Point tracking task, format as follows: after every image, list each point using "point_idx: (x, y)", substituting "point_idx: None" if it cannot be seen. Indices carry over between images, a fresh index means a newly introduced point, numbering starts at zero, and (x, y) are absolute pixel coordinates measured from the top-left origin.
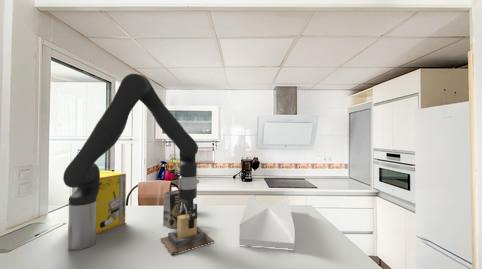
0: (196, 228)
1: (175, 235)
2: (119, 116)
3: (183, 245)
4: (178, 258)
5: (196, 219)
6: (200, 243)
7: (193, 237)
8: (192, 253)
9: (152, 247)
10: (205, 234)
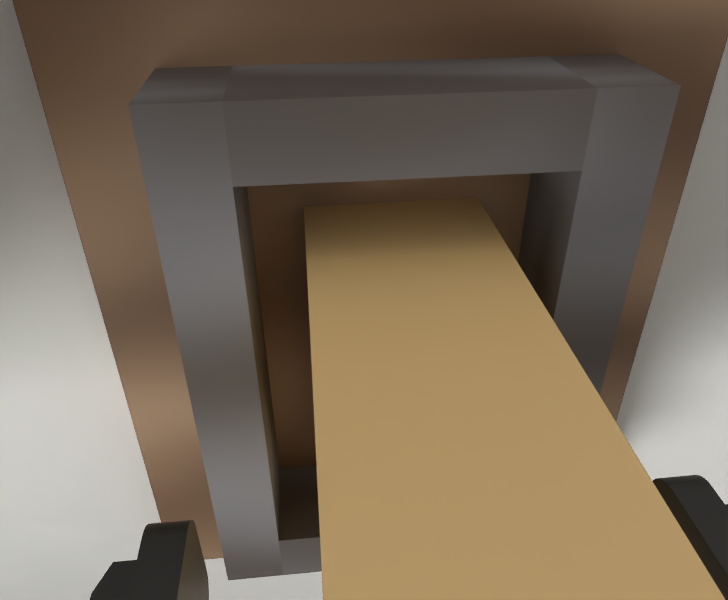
0: (545, 310)
1: (274, 476)
2: None
3: None
4: (672, 463)
5: (647, 489)
6: (661, 200)
7: (610, 341)
8: (711, 333)
9: (300, 596)
10: (670, 94)
